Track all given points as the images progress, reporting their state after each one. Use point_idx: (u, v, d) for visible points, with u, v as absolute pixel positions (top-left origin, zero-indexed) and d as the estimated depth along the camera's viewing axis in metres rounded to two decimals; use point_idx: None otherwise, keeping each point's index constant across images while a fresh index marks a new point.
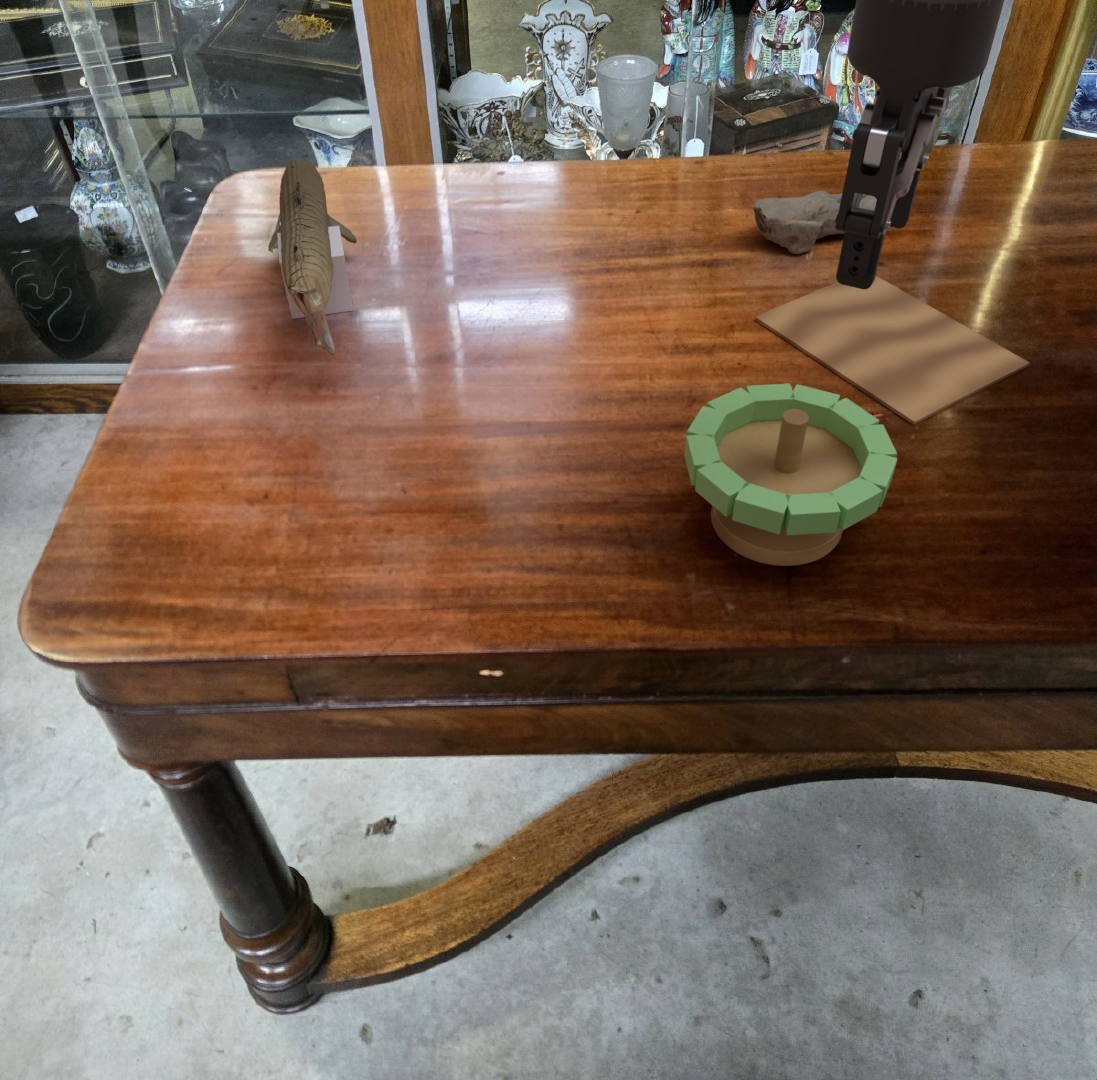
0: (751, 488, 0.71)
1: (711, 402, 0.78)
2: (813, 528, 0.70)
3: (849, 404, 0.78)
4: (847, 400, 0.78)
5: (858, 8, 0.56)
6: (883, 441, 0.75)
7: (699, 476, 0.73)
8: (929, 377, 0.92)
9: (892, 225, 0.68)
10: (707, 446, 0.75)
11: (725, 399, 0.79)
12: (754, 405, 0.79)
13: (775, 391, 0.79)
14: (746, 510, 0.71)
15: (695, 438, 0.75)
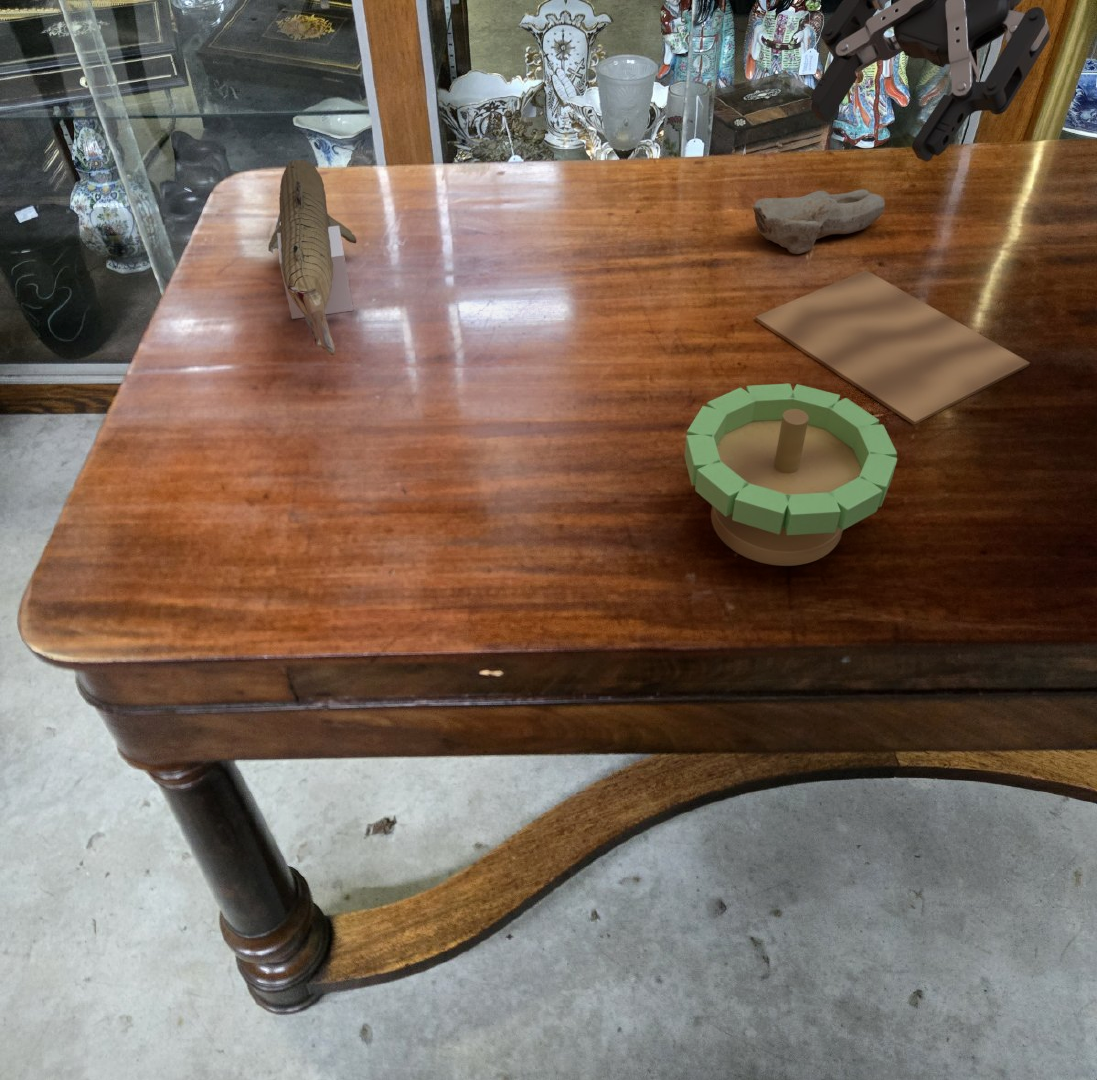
0: (751, 488, 0.71)
1: (711, 402, 0.78)
2: (813, 528, 0.70)
3: (849, 404, 0.78)
4: (847, 400, 0.78)
5: None
6: (883, 441, 0.75)
7: (699, 476, 0.73)
8: (929, 377, 0.92)
9: (914, 149, 0.69)
10: (707, 446, 0.75)
11: (725, 399, 0.79)
12: (754, 405, 0.79)
13: (775, 391, 0.79)
14: (746, 510, 0.71)
15: (695, 438, 0.75)
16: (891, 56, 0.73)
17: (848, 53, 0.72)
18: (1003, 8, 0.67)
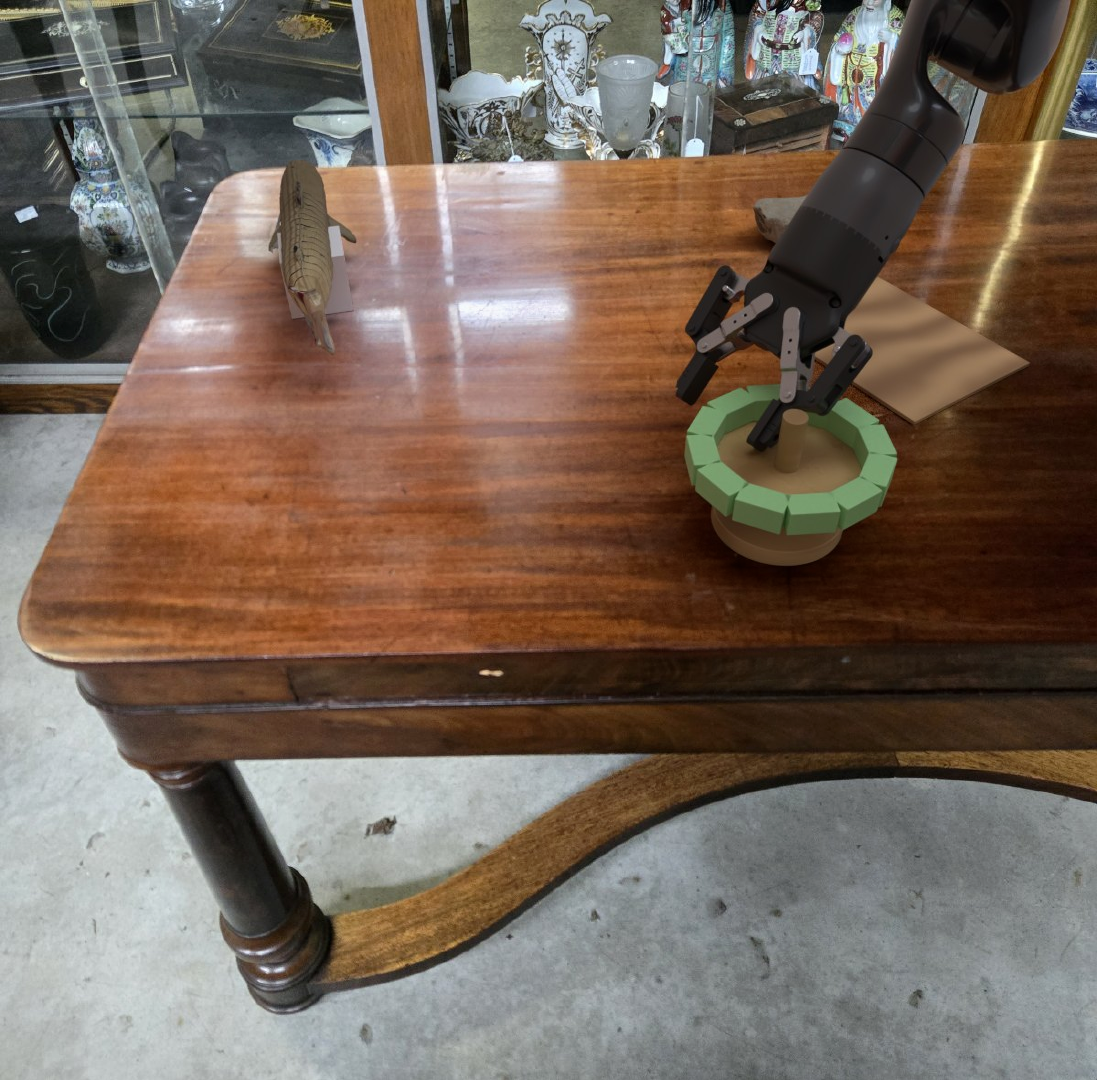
0: (751, 488, 0.71)
1: (711, 402, 0.78)
2: (813, 528, 0.70)
3: (849, 404, 0.78)
4: (847, 400, 0.78)
5: None
6: (883, 441, 0.75)
7: (699, 476, 0.73)
8: (929, 377, 0.92)
9: None
10: (707, 446, 0.75)
11: (725, 399, 0.79)
12: (754, 405, 0.79)
13: (775, 391, 0.79)
14: (746, 510, 0.71)
15: (695, 438, 0.75)
16: (748, 346, 0.80)
17: (708, 350, 0.79)
18: (832, 326, 0.74)
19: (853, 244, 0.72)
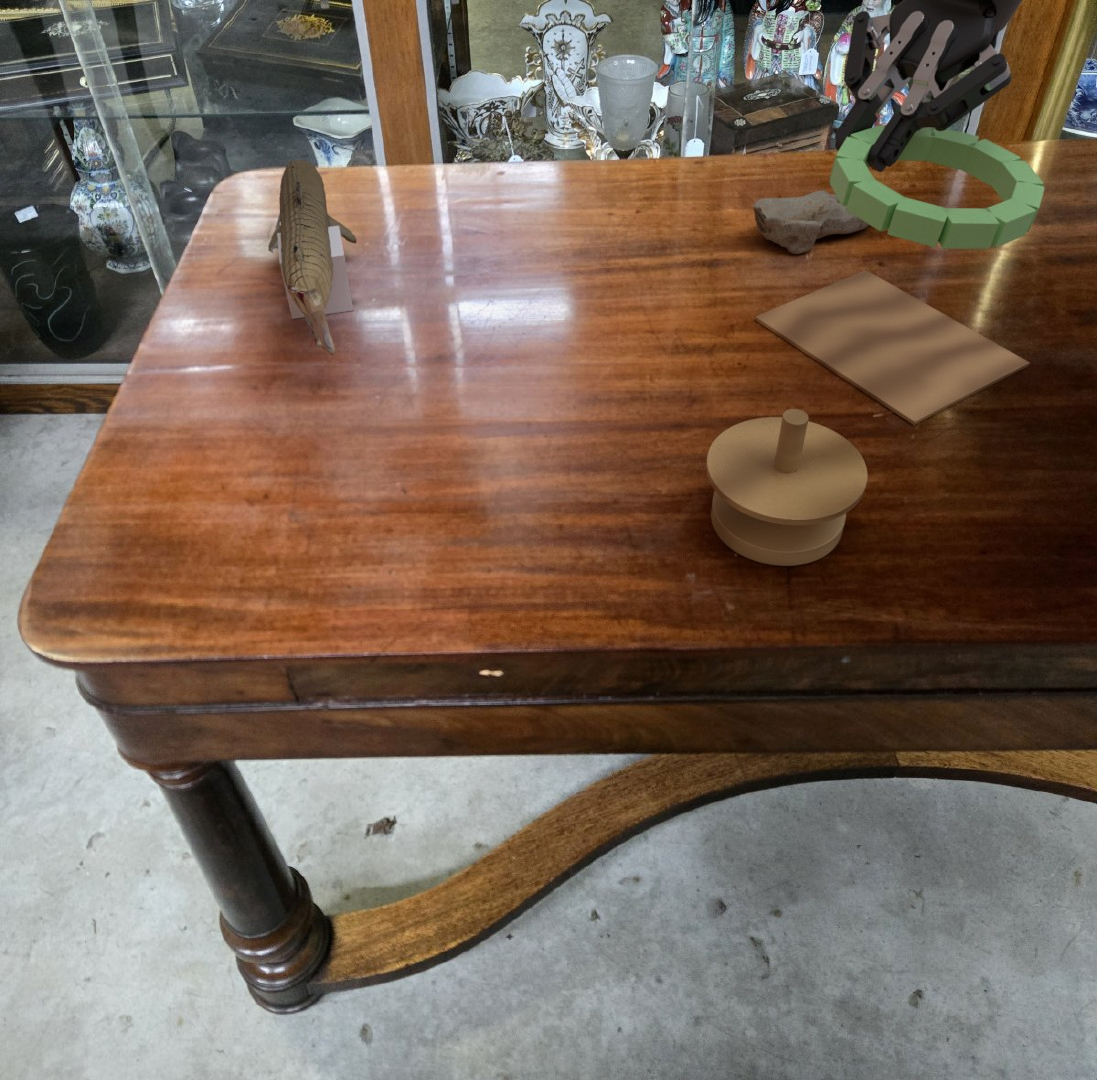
0: (909, 201, 0.72)
1: (855, 134, 0.78)
2: (969, 242, 0.71)
3: (989, 143, 0.79)
4: (987, 140, 0.79)
5: None
6: (1028, 173, 0.76)
7: (854, 191, 0.73)
8: (929, 377, 0.92)
9: (869, 161, 0.78)
10: (859, 167, 0.75)
11: (868, 133, 0.79)
12: None
13: None
14: (905, 221, 0.71)
15: (845, 160, 0.75)
16: (903, 86, 0.80)
17: (873, 93, 0.78)
18: (983, 40, 0.74)
19: None
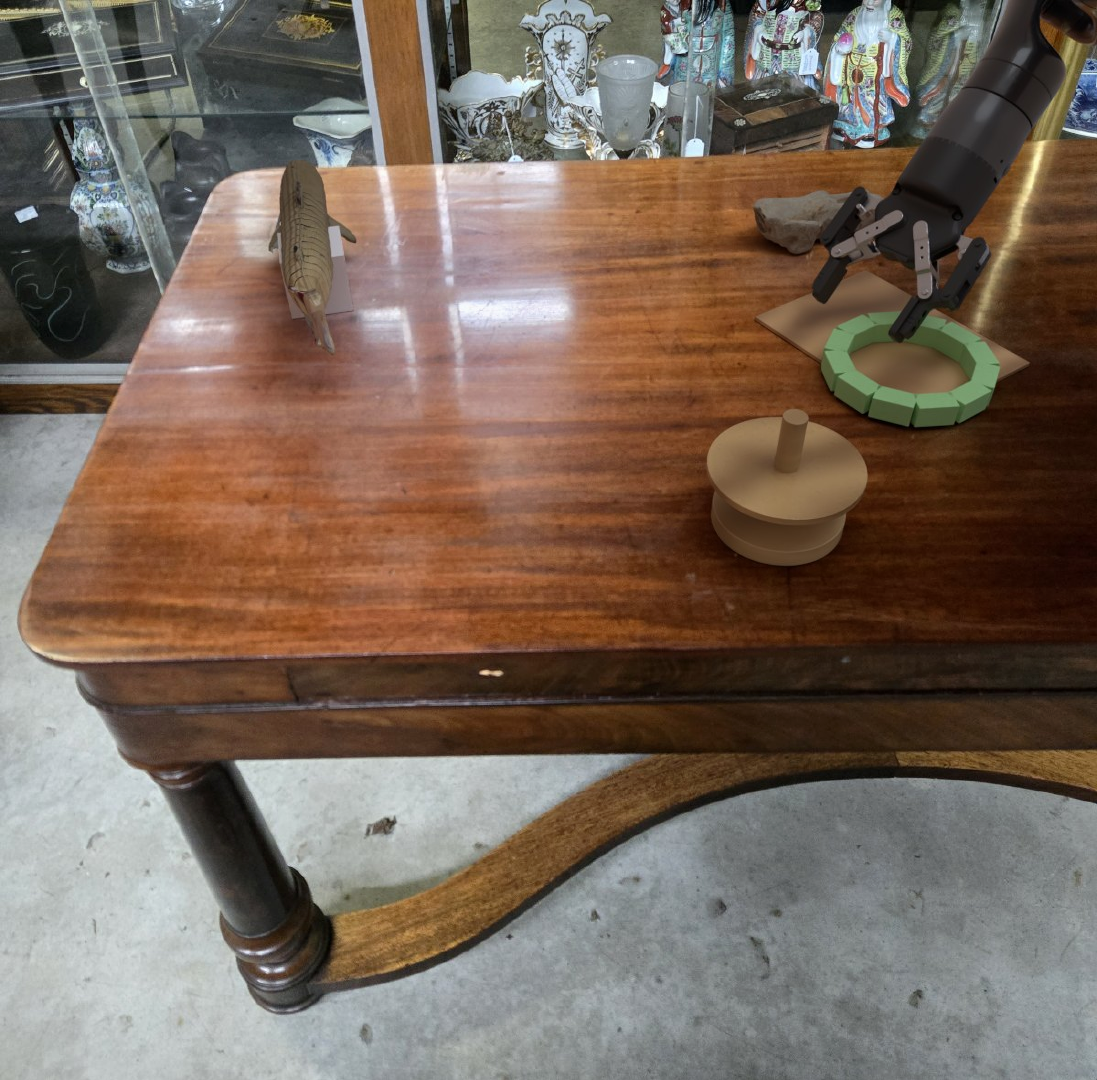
0: (884, 389, 0.88)
1: (840, 325, 0.95)
2: (936, 421, 0.87)
3: (955, 326, 0.94)
4: (953, 323, 0.95)
5: None
6: (987, 354, 0.91)
7: (839, 382, 0.89)
8: (929, 377, 0.92)
9: None
10: (843, 359, 0.91)
11: (851, 323, 0.95)
12: (875, 328, 0.95)
13: (892, 317, 0.95)
14: (881, 407, 0.87)
15: (832, 353, 0.92)
16: (873, 256, 0.95)
17: (840, 256, 0.94)
18: (956, 234, 0.89)
19: (974, 166, 0.87)
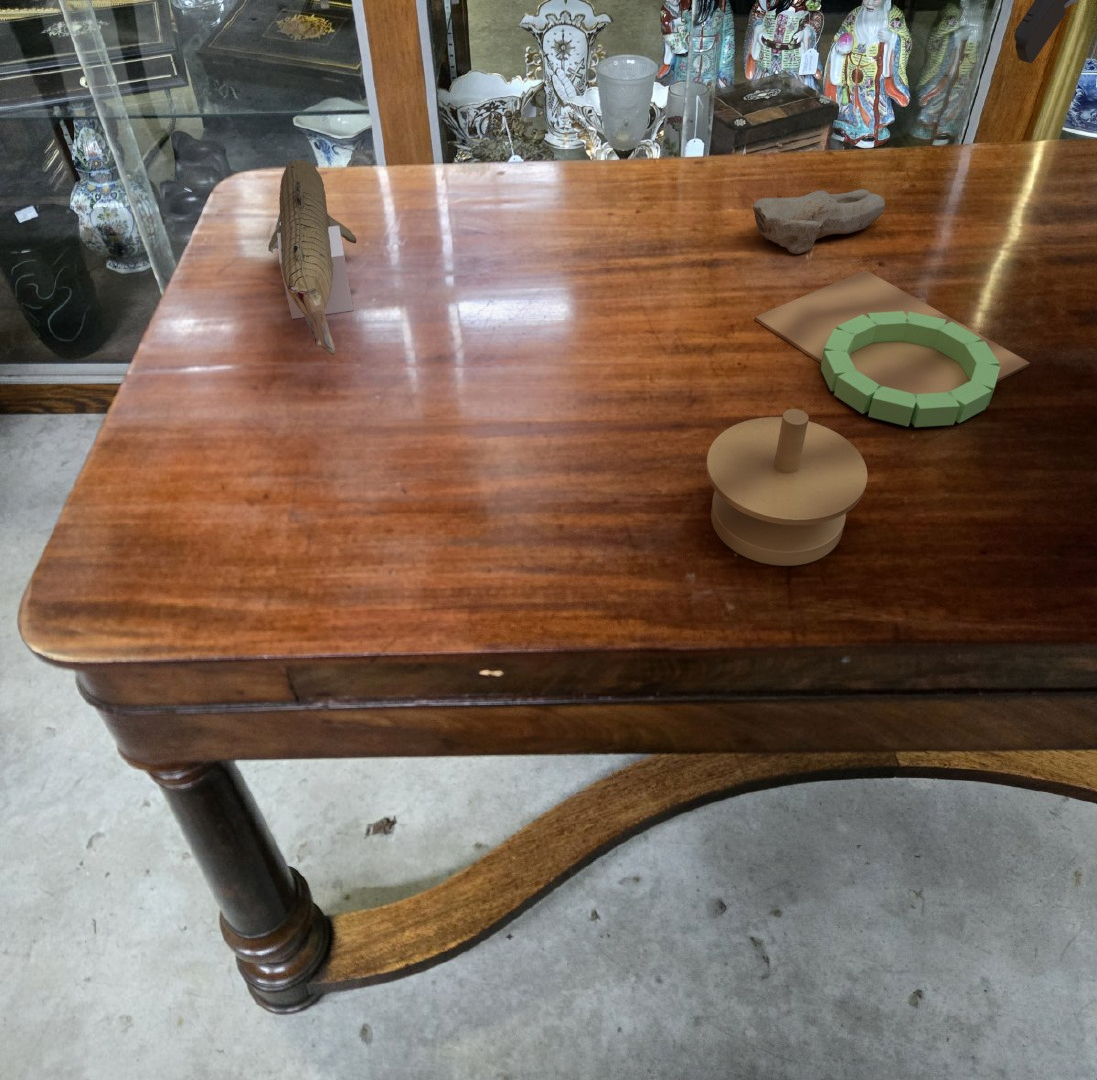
0: (884, 389, 0.88)
1: (840, 325, 0.95)
2: (936, 421, 0.87)
3: (955, 326, 0.94)
4: (953, 323, 0.95)
5: None
6: (987, 354, 0.91)
7: (839, 382, 0.89)
8: (929, 377, 0.92)
9: None
10: (843, 359, 0.91)
11: (851, 323, 0.95)
12: (875, 328, 0.95)
13: (892, 317, 0.95)
14: (881, 407, 0.87)
15: (832, 353, 0.92)
16: None
17: None
18: None
19: None
